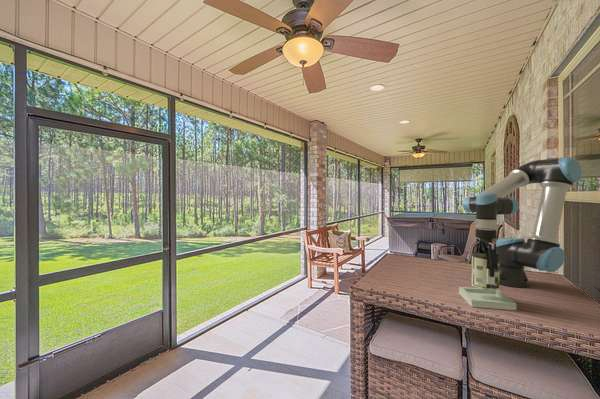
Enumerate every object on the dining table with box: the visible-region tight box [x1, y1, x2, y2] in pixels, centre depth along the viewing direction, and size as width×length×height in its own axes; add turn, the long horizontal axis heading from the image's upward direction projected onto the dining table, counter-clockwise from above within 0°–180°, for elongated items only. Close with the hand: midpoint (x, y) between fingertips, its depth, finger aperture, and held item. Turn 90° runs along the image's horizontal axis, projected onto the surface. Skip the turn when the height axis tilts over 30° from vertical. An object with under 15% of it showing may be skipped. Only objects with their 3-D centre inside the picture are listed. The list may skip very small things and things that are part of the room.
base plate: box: [458, 286, 517, 311], centre depth 119 cm, size 16×16×3 cm
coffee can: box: [470, 251, 500, 291], centre depth 119 cm, size 10×10×14 cm
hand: (485, 280), depth 119 cm, fingers closed on coffee can, 10 cm apart
